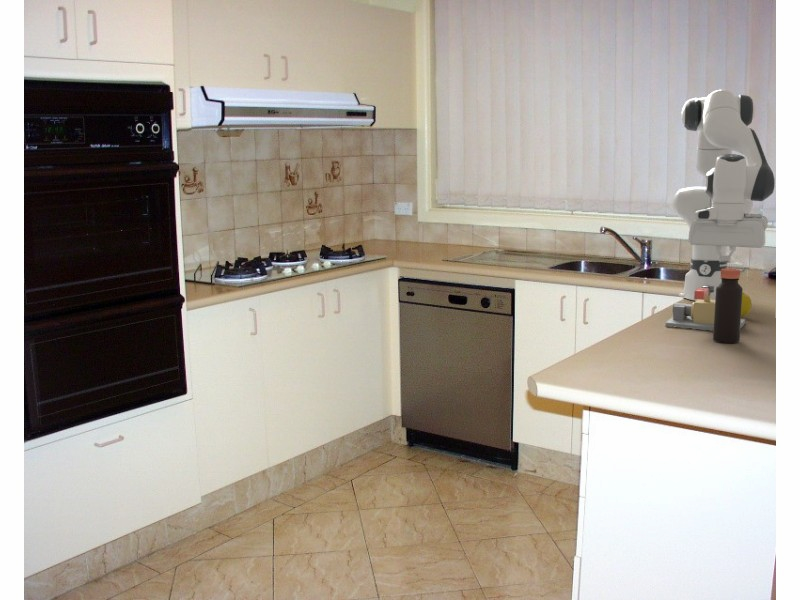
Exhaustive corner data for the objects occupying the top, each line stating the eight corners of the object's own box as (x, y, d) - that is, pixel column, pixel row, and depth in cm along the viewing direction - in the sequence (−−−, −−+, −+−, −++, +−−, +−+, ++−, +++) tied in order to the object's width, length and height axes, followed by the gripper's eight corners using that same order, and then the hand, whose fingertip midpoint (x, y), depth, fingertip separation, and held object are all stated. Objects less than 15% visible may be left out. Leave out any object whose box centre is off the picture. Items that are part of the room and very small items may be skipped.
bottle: (716, 343, 229) (720, 271, 225) (710, 337, 235) (714, 267, 232) (742, 344, 228) (746, 271, 224) (735, 338, 234) (740, 267, 231)
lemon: (753, 319, 259) (755, 294, 258) (735, 319, 259) (737, 294, 258) (746, 315, 265) (748, 290, 263) (728, 316, 265) (730, 291, 263)
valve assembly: (665, 326, 250) (667, 294, 249) (677, 316, 264) (679, 285, 262) (736, 333, 240) (738, 299, 239) (745, 323, 254) (747, 291, 252)
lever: (692, 298, 241) (692, 290, 240) (702, 291, 253) (702, 283, 252) (705, 300, 239) (705, 291, 238) (714, 292, 251) (715, 284, 251)
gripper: (769, 213, 232) (766, 262, 234) (693, 211, 242) (690, 258, 244) (766, 215, 226) (763, 265, 229) (688, 212, 237) (685, 261, 239)
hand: (725, 262), depth 237 cm, fingers closed
